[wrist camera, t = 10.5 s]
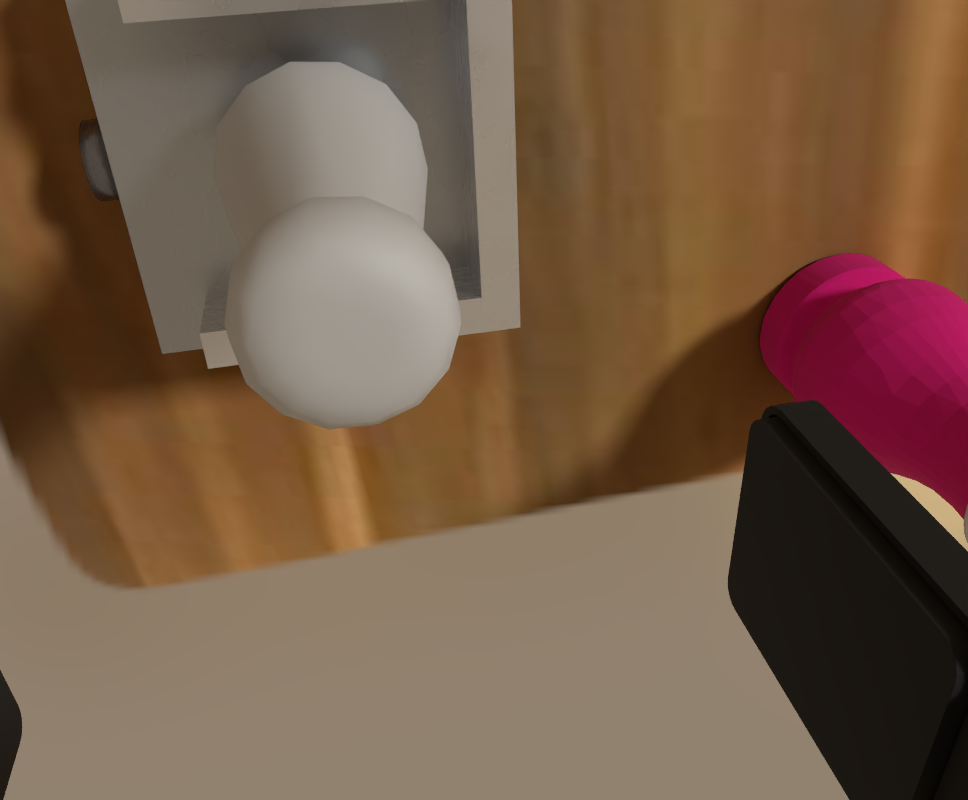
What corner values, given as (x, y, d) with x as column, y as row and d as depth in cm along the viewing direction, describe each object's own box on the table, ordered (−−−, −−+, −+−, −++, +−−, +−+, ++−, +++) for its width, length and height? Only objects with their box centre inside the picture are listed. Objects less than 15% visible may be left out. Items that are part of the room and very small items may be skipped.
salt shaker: (230, 243, 27) (195, 495, 16) (205, 46, 24) (142, 191, 13) (417, 235, 28) (504, 466, 17) (415, 45, 25) (518, 180, 14)
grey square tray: (42, -66, 24) (-14, -51, 20) (487, -93, 26) (531, -85, 22) (148, 317, 31) (125, 396, 26) (501, 273, 33) (537, 340, 28)
